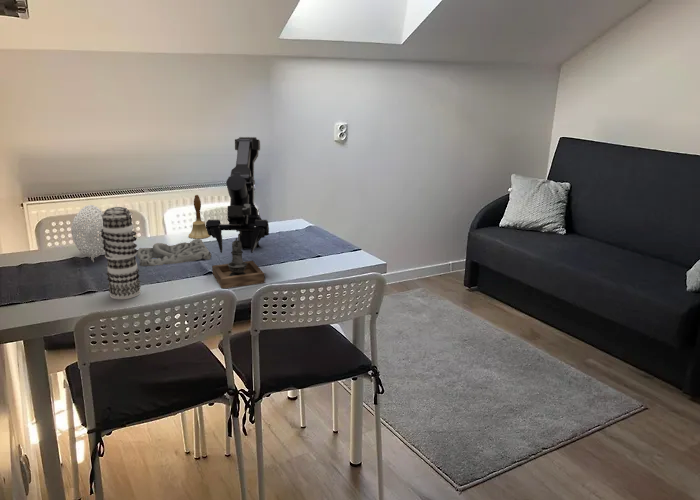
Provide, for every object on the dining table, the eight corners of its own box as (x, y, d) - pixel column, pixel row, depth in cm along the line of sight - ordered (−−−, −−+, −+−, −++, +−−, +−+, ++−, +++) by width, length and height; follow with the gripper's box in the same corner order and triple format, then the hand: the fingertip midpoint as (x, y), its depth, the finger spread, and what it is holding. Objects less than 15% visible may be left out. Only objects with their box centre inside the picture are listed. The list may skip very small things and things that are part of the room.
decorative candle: (100, 297, 171) (90, 211, 163) (123, 286, 179) (114, 203, 171) (126, 301, 168) (117, 214, 160) (148, 290, 176) (140, 207, 168)
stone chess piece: (249, 272, 189) (247, 235, 186) (245, 278, 184) (244, 240, 180) (230, 272, 189) (228, 235, 186) (226, 278, 184) (224, 240, 180)
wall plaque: (203, 245, 220) (202, 235, 219) (213, 261, 204) (212, 250, 203) (134, 252, 212) (133, 241, 210) (139, 269, 195) (138, 257, 194)
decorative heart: (105, 265, 196) (100, 214, 191) (70, 267, 194) (63, 215, 189) (113, 248, 213) (108, 201, 208) (81, 250, 211) (75, 202, 206)
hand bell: (210, 238, 227) (208, 197, 222) (187, 239, 225) (184, 197, 220) (210, 232, 235) (208, 192, 230) (188, 233, 233) (186, 193, 228)
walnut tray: (253, 269, 195) (252, 260, 194) (264, 282, 183) (264, 273, 182) (212, 274, 190) (212, 265, 189) (222, 288, 178) (221, 279, 177)
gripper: (204, 193, 182) (200, 239, 175) (267, 194, 183) (265, 239, 176) (210, 212, 192) (206, 256, 185) (269, 212, 193) (268, 256, 186)
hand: (236, 252), depth 182 cm, fingers open, 9 cm apart
